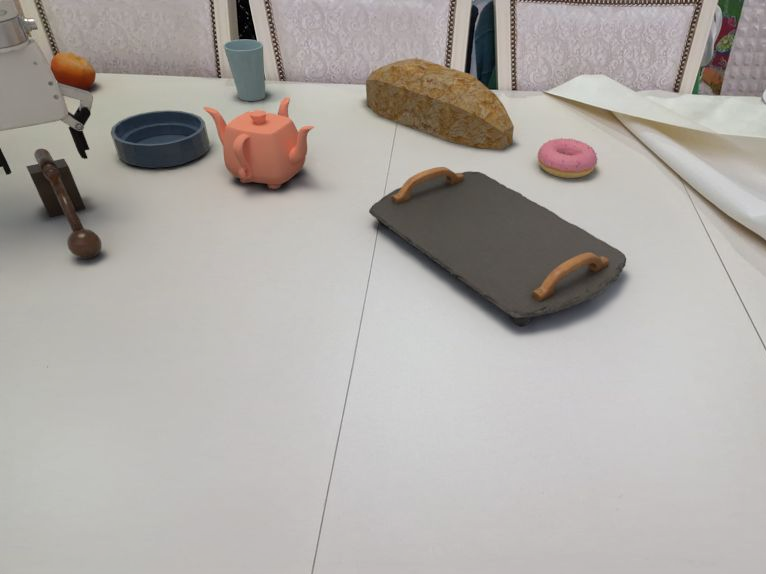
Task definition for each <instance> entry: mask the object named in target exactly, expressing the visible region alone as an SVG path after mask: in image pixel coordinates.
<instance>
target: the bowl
mask: <svg viewBox="0 0 766 574" xmlns="http://www.w3.org/2000/svg"><path fill="white" fill-rule="evenodd" d="M110 136H111V139H112V142H113V144H114V147H115V148H114V149H115V150H116V153H117V156H118V157H119V159H120V160H121V161H122V162H124V163H127V164H128V165H133V166H136V167H143V168H155V169H157V168H159V169H160V168H171V167H176V166H180V165H184V164H187V163H190V162H192V161H194V160H197V159H198V158H200V157H202V156H203V155H205V154H206V153H207V152H208V150H209V149H210V144H211V143H210V138H209V134H208V130H207V126H206V122H205V121H204V119H203V118H202V117H201V116H199V115H197V114H195V113H193V112H187V111H182V110H170V109H168V110H153V111H148V112H142V113H141V112H140V113H137V114H134V115H131V116H128V117H125V118H123V119H120V120H119V121H117V122H116V123H115V124H114V125H113V126H111V129H110Z"/></svg>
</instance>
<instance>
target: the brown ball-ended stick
mask: <svg viewBox="0 0 766 574" xmlns="http://www.w3.org/2000/svg"><path fill="white" fill-rule="evenodd" d="M33 155H34V158H35V160H36V162H37V164H39V166H40V168H41V170H42V172H43V174H44V176H45V178H46V179H47V180H49V181H50V184H51V186H52V188H53V190H54V192H55V194H56V196H57V199H58V201H59V203H60V205H61V207H62V209H63V212H64V214H63V215H64V216H65V218H66V220H67V222H68V225H69V227H70V229H71V231H72V232H71V233H70V234H69V235H68V238H67V243H66V244H67V248H68V250H69V251H70V253H71V254H72V255H74V256H75V257H77V258H80V259H86V260H87V259H92V258H95V257H96V256H98V255H99V253H100V252H101V250H102V245H103V243H102V239H101V238H100V237H99V235H98V234H97V233H95V232H94V231H93V230H90V229H87V228H84V226H83V223H82V222H81V220H80V218H79V215H78V213H77V211H75V209H74V206H73V204H72V202H71V200H70V198H69V196H68V194H67V191H66V189H65V187H64V185H63V183H62V181H61V179H60V178H61V173H60V171H59V169H58V167H57V166H56V164H55V162H54V158H53V156H52V155H51V153H50V152H49V151H48V150H47V149H45V148H37V149H36V150H35V151H34V153H33Z"/></svg>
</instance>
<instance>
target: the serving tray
mask: <svg viewBox="0 0 766 574" xmlns="http://www.w3.org/2000/svg"><path fill="white" fill-rule="evenodd" d="M368 213H369V214H370V215H371V216H372V217H373V218H375V219H376V221H377V222H378V224H379V225H381V226H386V228H389V229H390V230H391V231H393V232H394V233H396V234H397V235H399V236H400V237H401V238H402V239H403V240H405V241H407V242H408V243H410V244H411V245H412V246H413V247H415V248H416V249H417V250H418V251H419V252H421V253H423V254H424V255H426V256H428V257H429V258H430V259H431V261H434V262H435V263H437V264H438V265H439V266H440V267H441V268H444V269H445V270H446V271H448V272H449V273H450V274H451V275H453V276H454V277H455V278H457V279H459V281H461V282H463V283H464V284H465V285H467V286H469V288H471V289H473V291H475V292H476V293H478V294H479V295H480V296H481V297H484V298H485V299H486V300H488V301H489V302H490V303H492V305H494V306H496V307H497V308H499V309H500V310H501V311H502V312H504V313H505V314H507V315H508V316H510V317H512V319H513V321H514V322H515V325H516V326H518V327H524V326H526V325H527V324H528V323H529V321H530V320H531V318H532V317H540V316H543V315H547V314H552V313H556V312H560V311H565V310H567V309H569V308H570V307H573V306H576V305H579V304H581V303H584V302H587V301H589V300H591V299H593V298H596V297H597V296H598V295H599V294H600V293H602V292H604V291H606V289H607V288H608V287H609V286H610V285H611V284H613V283H614V282H615V281H617V279H618V278H619V276H620V274H621V273H622V272H623V269H624V268H625V267H626V265H627V257H626V254H625V253H624V252H622V251H621V250H619V249H618V248H616V247H614V246H612V245H610V244H609V243H607V242H606V241H604V240H601V239H600V238H598V237H596V236H595V235H593V234H591V233H590V232H588V231H587V230H586V229H583V228H581V227H579V226H578V225H576V224H574V223H571V222H569V221H567V220H565V219H564V218H562V217H560V216H559V214H556V213H555V212H554V211H552V210H549V209H548V208H546V206H542V205H541V204H538V203H537V202H535V201H534V200H531V199H530V198H528V197H526V196H524V195H523V194H522V193H521V192H519V191H515V190H514V189H511V187H507V186H506V185H504V184H502V183H500V182H499V181H497V180H496V179H494V178H492V177H490V176H488V175H487V174H485V173H483V172H480V171H472V170H471V171H469V170H468V171H464V172H463V171H462V172H454V171H453V170H451V169H450V168H449V167H445V166H437V167H433V168H429V169H425V170H423V171H421V172H418V173H416V174H414V175H413V176H411V177H409V178H408V179H407V180H406V181H405V182H404V183H403V184H402V185H401V187H398V188H395V189H394V190H392V191H391V192H389V193H388V194H386V195H384V196H383V197H382V198H380V200H378V201H377V202H375V203H373V204H372V206H371V207H370V208H369V210H368Z"/></svg>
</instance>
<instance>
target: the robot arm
mask: <svg viewBox="0 0 766 574" xmlns="http://www.w3.org/2000/svg"><path fill="white" fill-rule="evenodd" d="M38 28H39V27H38V25H37V23H36V21H35V18H34V17H29V18H27V17H23V16H22V15H20V14H19V11H18V9H17V5H16V3H15V2H14V0H0V132H1V131H9V130H10V131H11V130H15V129H23V128H27V127H33V126H39V125H44V124H50V123H55V122H59V121H61V122H62V123H64V124H66V126H68V130H69V133H70V135H71V137H72V140H73V143H74V145H75V148H76V151H77V153H78V154H79V156H80V157H81V159H83V160H86V159H88V158H89V157H88V155H87V152H86V151H89V150H90V146H89V143H88V141H87V139H86V135H85V134H84V129H85V125H86V123H87V122H88V120H89V118H90V116H91V115H92V114H91V111H92V108H93V102H94V96H93V94H92V93H91V92H90V91H89V90H87V91H85V90H82V89H78V88H75V87H71V86H67V85H64V84H60V83H58V82H57V81H56V79H55V77H54V75H53V73H52V71H51V65H50V64H49V62H48V61H47V58H46V56H45V55H44V53H43V51H42V49H41V47H40V45H39V44H38V42H37V41H36V39H35V38H34V37H33V36H32V37H31V36H28V35H30V33H31V32H33V31H36V30H39V29H38ZM65 97H67V98H70V99H75V100H78V101H79V106H77V107H78V108H77V109H76V110H75V112H74V114H73V113H72V112H71V111H69V109H68V107H67V103H66V100H65ZM0 168H2V169H3V171H4V173H5V175H6V176H8V175H11V174H12V173H13V172H12V169H11V168H10V165H9V162H8V161H7V159H6V156H5V155H4V153H3V150H2V149H1V147H0Z"/></svg>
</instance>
